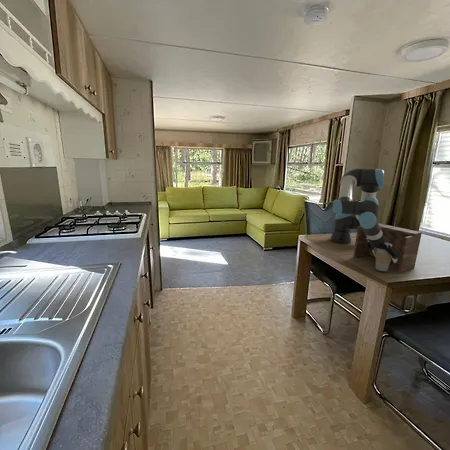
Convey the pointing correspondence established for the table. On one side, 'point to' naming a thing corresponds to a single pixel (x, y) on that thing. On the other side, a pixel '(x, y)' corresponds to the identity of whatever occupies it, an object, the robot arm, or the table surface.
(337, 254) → the table surface
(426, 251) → the table surface
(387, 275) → the table surface
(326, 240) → the table surface
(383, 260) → the coffee cup
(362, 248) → the walnut box
